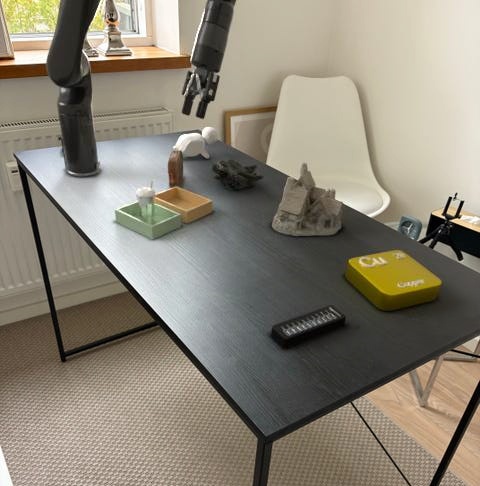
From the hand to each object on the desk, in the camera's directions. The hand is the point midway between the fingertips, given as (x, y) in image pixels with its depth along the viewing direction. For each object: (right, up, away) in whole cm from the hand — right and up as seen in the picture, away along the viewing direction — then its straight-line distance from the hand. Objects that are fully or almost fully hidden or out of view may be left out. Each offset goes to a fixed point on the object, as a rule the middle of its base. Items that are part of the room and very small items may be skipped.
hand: (192, 116), depth 124 cm
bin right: (-3, -22, +6) cm, 24 cm away
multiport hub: (+25, -54, -32) cm, 68 cm away
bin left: (-11, -28, -2) cm, 30 cm away
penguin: (-2, +3, +40) cm, 40 cm away
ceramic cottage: (+29, -27, +3) cm, 40 cm away
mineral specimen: (+11, -12, +21) cm, 27 cm away
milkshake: (-11, -28, -2) cm, 30 cm away
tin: (-7, -11, +20) cm, 24 cm away
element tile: (+44, -45, -18) cm, 66 cm away
